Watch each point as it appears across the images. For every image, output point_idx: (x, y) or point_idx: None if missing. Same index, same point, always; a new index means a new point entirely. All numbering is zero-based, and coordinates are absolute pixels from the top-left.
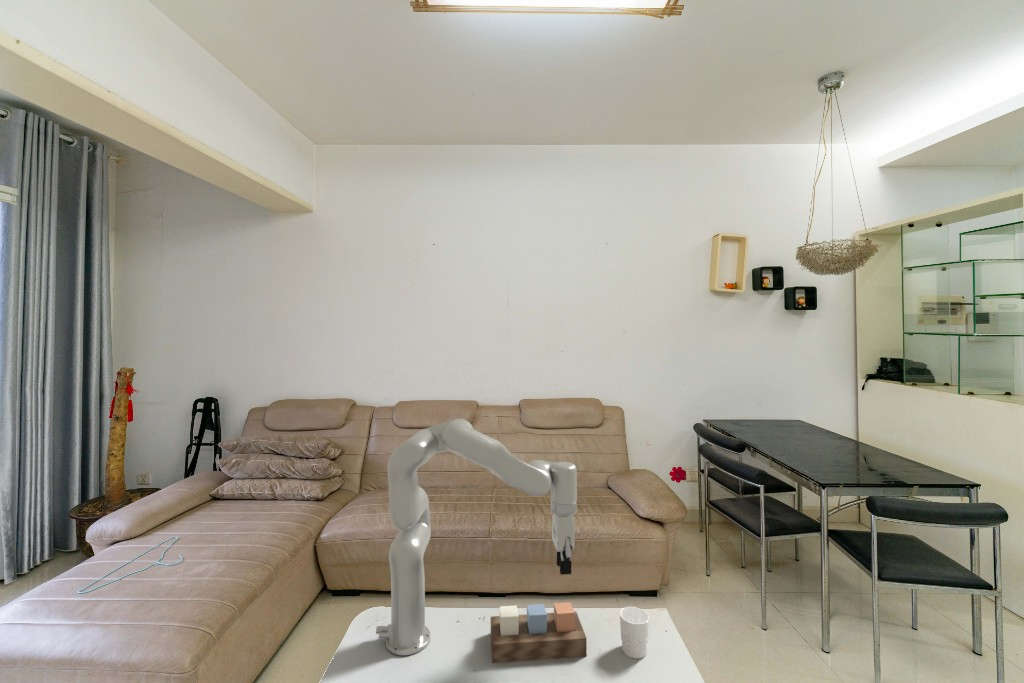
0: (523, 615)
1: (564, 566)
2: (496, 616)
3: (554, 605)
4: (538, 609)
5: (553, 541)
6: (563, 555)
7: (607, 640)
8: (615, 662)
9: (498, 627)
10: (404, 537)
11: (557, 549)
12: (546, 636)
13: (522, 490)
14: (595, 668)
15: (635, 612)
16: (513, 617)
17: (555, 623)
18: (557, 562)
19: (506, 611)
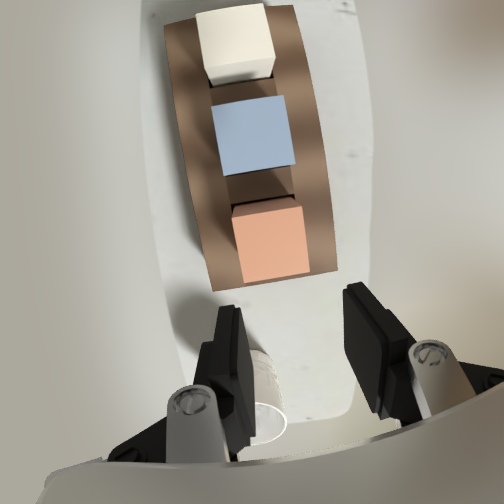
0: (310, 96)
1: (198, 375)
2: (295, 19)
3: (289, 207)
4: (254, 141)
5: (445, 431)
6: (132, 459)
7: (278, 323)
8: (206, 330)
9: None
10: None
11: (60, 480)
12: (207, 172)
13: None
14: (181, 288)
15: (280, 421)
16: (202, 52)
17: (264, 202)
18: (358, 296)
19: (232, 25)
